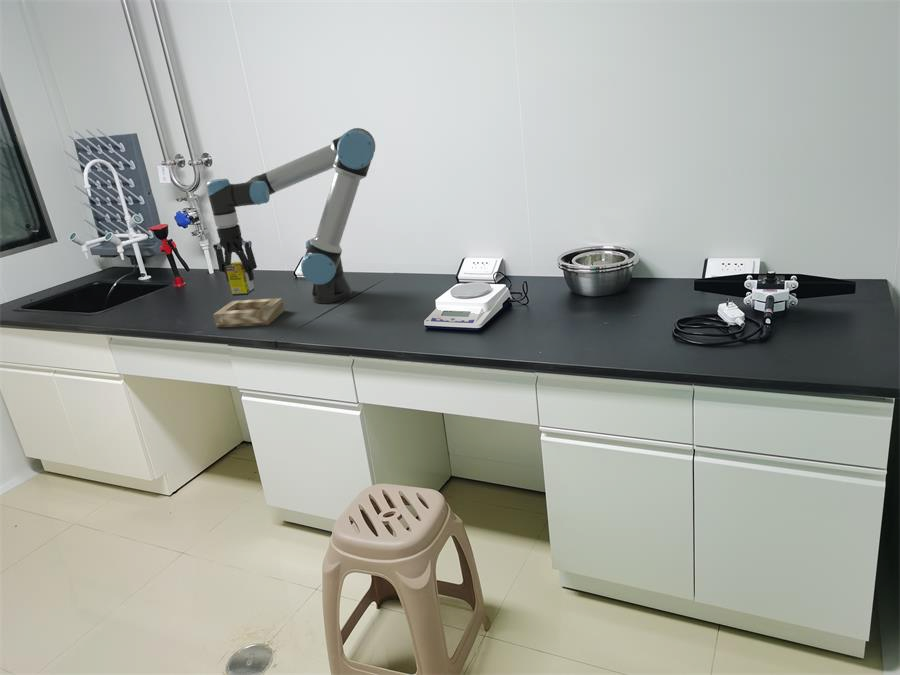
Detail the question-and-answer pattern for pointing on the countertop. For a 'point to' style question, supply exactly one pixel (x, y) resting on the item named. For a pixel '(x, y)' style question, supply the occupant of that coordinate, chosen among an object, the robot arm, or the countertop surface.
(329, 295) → the robot arm
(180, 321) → the countertop surface
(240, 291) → the supplement box
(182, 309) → the countertop surface
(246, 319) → the wooden tray
